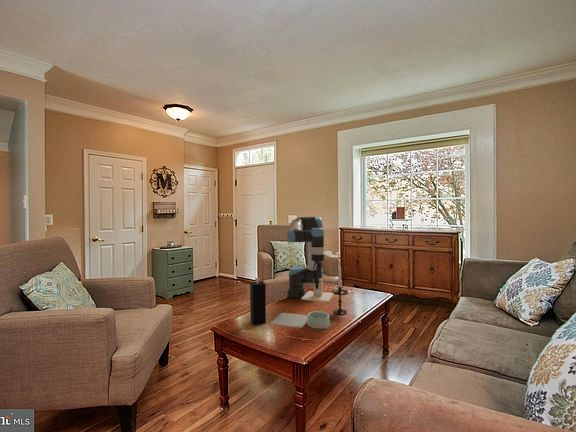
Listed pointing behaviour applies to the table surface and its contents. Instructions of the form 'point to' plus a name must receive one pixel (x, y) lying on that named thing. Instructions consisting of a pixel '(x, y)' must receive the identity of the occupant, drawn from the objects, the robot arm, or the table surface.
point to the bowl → (318, 319)
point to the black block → (257, 302)
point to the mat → (290, 320)
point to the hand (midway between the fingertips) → (318, 292)
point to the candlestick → (339, 292)
